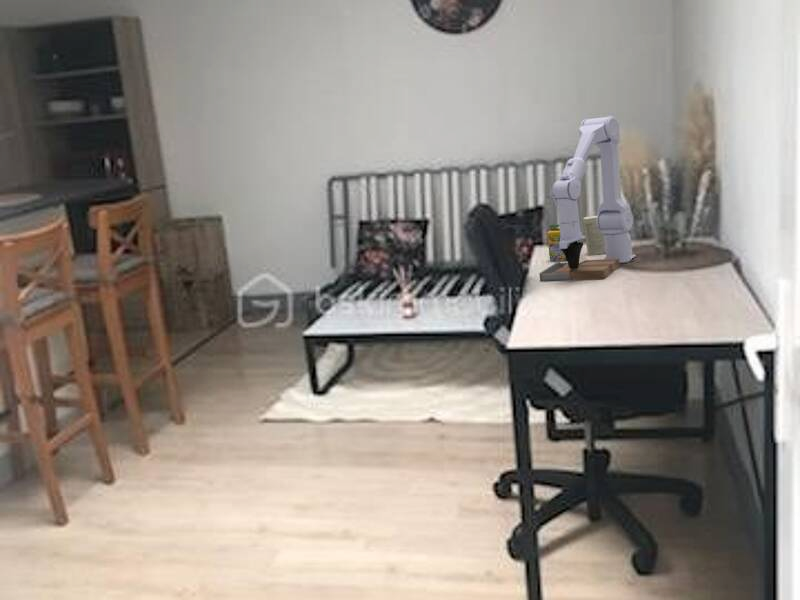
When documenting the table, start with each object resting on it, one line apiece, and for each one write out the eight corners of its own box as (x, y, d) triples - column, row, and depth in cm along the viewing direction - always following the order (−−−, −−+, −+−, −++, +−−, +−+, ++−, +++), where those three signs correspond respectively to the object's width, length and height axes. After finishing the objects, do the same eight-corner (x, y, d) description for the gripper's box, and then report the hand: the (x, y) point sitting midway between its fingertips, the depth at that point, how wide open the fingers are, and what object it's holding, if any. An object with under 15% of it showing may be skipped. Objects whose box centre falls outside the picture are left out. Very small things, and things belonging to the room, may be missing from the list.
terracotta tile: (563, 273, 252) (560, 268, 252) (577, 266, 249) (574, 260, 249) (557, 277, 248) (554, 272, 248) (570, 270, 245) (567, 264, 245)
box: (558, 269, 263) (558, 261, 262) (587, 268, 258) (586, 260, 257) (540, 281, 249) (539, 273, 249) (569, 280, 245) (568, 271, 244)
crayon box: (549, 261, 277) (545, 226, 275) (553, 259, 280) (549, 224, 277) (570, 261, 273) (566, 225, 271) (574, 259, 275) (570, 223, 273)
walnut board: (587, 268, 258) (586, 260, 257) (619, 266, 253) (619, 258, 252) (569, 280, 245) (568, 271, 244) (603, 279, 239) (602, 270, 239)
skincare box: (607, 251, 280) (604, 214, 278) (606, 253, 276) (603, 216, 274) (588, 253, 282) (584, 216, 280) (586, 255, 278) (582, 218, 276)
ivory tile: (574, 267, 259) (571, 262, 259) (586, 259, 256) (583, 254, 256) (566, 271, 255) (563, 266, 256) (579, 263, 252) (576, 258, 252)
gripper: (574, 225, 234) (579, 273, 237) (590, 216, 246) (595, 262, 249) (550, 227, 238) (555, 274, 241) (567, 218, 250) (572, 263, 253)
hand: (574, 268), depth 245 cm, fingers closed
